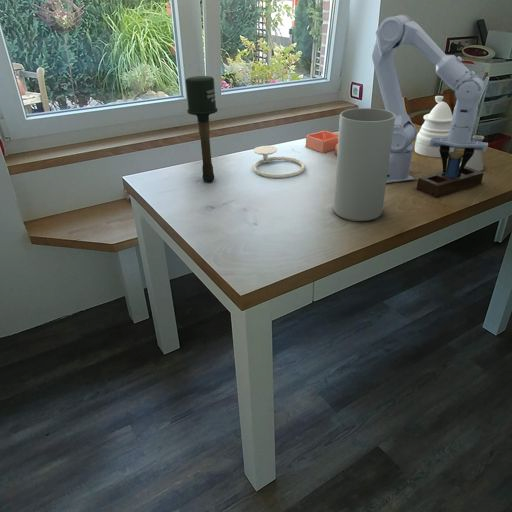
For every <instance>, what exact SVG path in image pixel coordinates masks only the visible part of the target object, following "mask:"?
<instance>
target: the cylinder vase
mask: <svg viewBox="0 0 512 512" xmlns="http://www.w3.org/2000/svg"><path fill="white" fill-rule="evenodd" d="M394 122H395V114H394V113H392V112H390V111H387V110H385V109H381V108H372V107H358V108H350V109H345V110H343V111H341V112H340V113H339V125H338V135H339V137H338V151H337V155H336V169H335V183H334V197H333V211H334V213H335V214H336V215H337V216H339V217H340V218H342V219H344V220H348V221H353V222H368V221H373V220H376V219H378V218H379V217H380V216H381V215H382V214H383V209H384V203H385V202H384V201H385V196H386V188H387V183H386V181H387V173H388V166H389V159H390V151H391V144H392V136H393V129H394Z"/></svg>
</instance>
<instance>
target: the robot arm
mask: <svg viewBox="0 0 512 512" xmlns="http://www.w3.org/2000/svg"><path fill="white" fill-rule="evenodd" d="M400 45H405V46H406V45H407V46H413V47H414V48H415V49H416V50H418V51H419V53H421V54H422V55H423V56H425V57H426V59H428V60H429V61H430V62H431V63H432V64H433V65H435V74H436V75H437V76H438V77H439V79H441V80H442V81H443V82H444V83H445V84H446V85H447V86H448V87H449V88H450V90H451V91H454V92H455V93H454V95H455V98H456V101H455V106H454V108H453V112H452V116H453V117H452V122H451V127H450V132H449V137H448V138H431V140H430V146H440V150H439V151H440V155H441V157H440V158H441V163H442V171H443V173H445V172H446V169H447V164H448V160H449V156H448V154H449V150H450V148H454V149H461V150H464V151H463V153H462V154H463V157H462V158H461V162H460V163H461V165H460V168H459V173H458V175H461V173H462V170H463V168H464V167H465V165H466V163H467V162H468V161H469V159H470V158H471V157H472V156H473V154H474V150H480V151H481V152H482V153H483V152H484V153H486V152H487V150H488V146H489V143H488V142H485V141H484V142H483V141H482V142H479V141H473V139H472V137H473V132H474V128H475V124H476V123H475V122H476V120H477V119H476V118H477V114H478V110H479V108H478V107H479V105H480V96H481V95H482V93H483V92H484V89H485V83H484V81H483V79H482V77H481V76H480V75H477V74H476V72H475V71H474V70H469V68H468V67H467V66H466V65H465V64H464V63H463V62H462V61H463V58H462V57H461V56H457V57H456V55H455V54H448V55H447V54H446V53H445V52H444V51H443V49H441V48H440V47H439V45H438V44H436V42H434V40H433V39H432V38H431V36H429V34H428V33H427V32H426V31H425V30H424V29H423V28H422V27H421V26H420V24H418V23H417V22H416V21H414V20H412V18H411V17H410V16H409V15H407V14H405V13H404V14H403V13H402V14H397V15H394V16H393V15H392V16H388V17H386V18H385V19H383V20H382V21H381V23H380V24H379V26H378V28H377V29H376V31H375V40H374V44H373V49H372V53H371V59H372V63H373V67H374V70H375V75H376V79H377V83H378V86H379V91H380V94H381V98H382V102H383V106H384V110H387V111H390V112H392V113H394V114H395V122H394V129H393V136H392V144H391V151H390V159H389V166H388V173H387V181H386V184H390V183H397V182H398V183H399V182H406V181H407V182H409V181H413V180H415V178H414V177H413V176H411V175H410V168H411V162H412V157H413V151H414V147H413V144H412V143H413V141H414V140H416V138H417V134H418V130H417V128H416V126H415V125H414V123H413V122H412V119H411V117H410V115H409V114H408V113H407V110H406V107H405V103H404V97H403V93H402V90H401V86H400V82H399V81H400V80H399V77H398V73H397V69H396V65H395V62H394V55H395V53H396V52H397V50H398V48H399V47H400Z"/></svg>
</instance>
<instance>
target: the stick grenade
mask: <svg viewBox="0 0 512 512" xmlns="http://www.w3.org/2000/svg"><path fill="white" fill-rule="evenodd" d="M184 81H185V89H186V98H187V110H186V111H187V114H188V115H191V116H192V115H193V116H196V118H197V126H198V127H197V128H198V134H199V137H200V148H201V158H202V165H201V167H202V169H201V170H202V175H201V176H202V180H203V181H204V182H205V183H211V182H213V181H215V173H214V166H213V163H212V153H211V152H212V151H211V141H210V140H211V139H210V135H211V129H210V115H212V114H215V113H217V112H218V107H217V103H216V102H217V101H216V90H215V89H216V88H215V87H216V86H215V79H214V77H213V76H209V75H195V76H190V77H187V78H186V79H185V80H184Z"/></svg>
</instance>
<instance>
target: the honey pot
mask: <svg viewBox="0 0 512 512" xmlns="http://www.w3.org/2000/svg"><path fill="white" fill-rule="evenodd" d="M434 100H435V102H436V103H437V104H435V106H434V107H433V108H432V109H431V111H430V112H429V113H426V114H424V115H423V120H424V122H423V123H422V125H421V127H420V129H419V131H418V132H417V135H416V138H415V144H414V148H413V151H414V152H415V153H416V154H419V156H424V157H430V158H441V155H440V151H439V150H440V146H430V140H431V138H448V137H449V132H450V127H451V122H452V117H453V112H452V109H451V108H450V106H449V104H448V103H447V102H445V101H443V100H444V96H443V95H436V96H434ZM449 152H455V148H450V150H449Z"/></svg>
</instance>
